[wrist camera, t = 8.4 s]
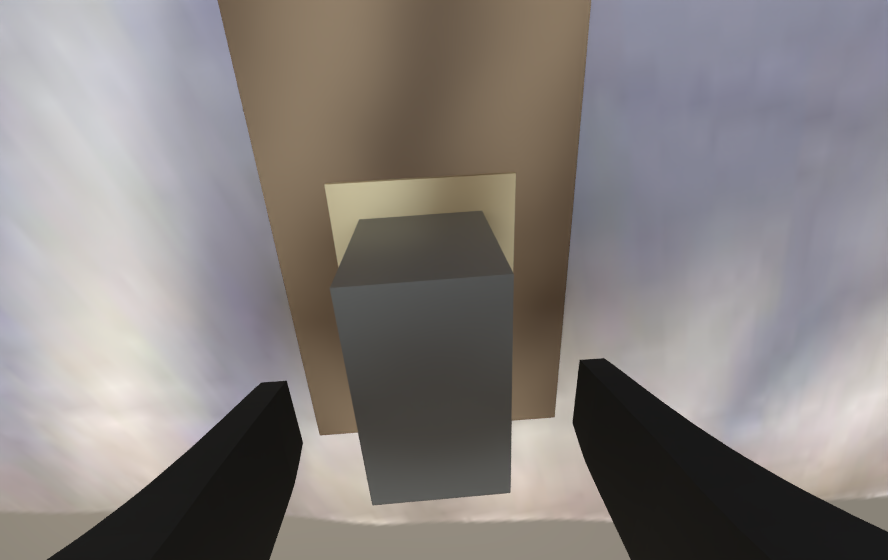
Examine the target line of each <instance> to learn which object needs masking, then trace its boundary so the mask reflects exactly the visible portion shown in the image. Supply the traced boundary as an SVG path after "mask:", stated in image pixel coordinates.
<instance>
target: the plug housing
mask: <svg viewBox="0 0 888 560" xmlns="http://www.w3.org/2000/svg"><path fill="white" fill-rule="evenodd" d="M330 292H331V297H332V302H333V307H334V312H335V318H336V323H337V328H338V333H339V338H340V343H341V348H342V353H343V358H344V363H345V368H346V374H347V379H348V384H349V389H350V394H351V399H352V404H353V409H354V414H355V419H356V424H357V429H358V435H359V440H360V445H361V450H362V455H363V460H364V465H365V470H366V475H367V480H368V485H369V491H370V496H371V501H372V505H382V504H393V503H404V502H415V501H426V500H437V499H448V498H459V497H470V496H481V495H492V494H503V493H510V488H511V424H512V360H513V295H514V273H513V271H512V269H511V267H510V265H509V263H508V261H507V259H506V257H505V255H504V253H503V251H502V249H501V247H500V245H499V243H498V241H497V239H496V237H495V235H494V233H493V231H492V229H491V227H490V225H489V223H488V221H487V219H486V217H485V215H484V213H483V211H469V212H455V213H441V214H427V215H414V216H400V217H386V218H372V219H359V221H358V223H357V226H356V228H355V230H354V233H353V235H352V237H351V240H350V242H349V244H348V247H347V249H346V251H345V254H344V256H343V258H342V261H341V263H340V265H339V268H338V270H337V272H336V275H335V277H334V279H333V282H332V284H331V286H330Z"/></svg>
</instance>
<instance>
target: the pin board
mask: <svg viewBox="0 0 888 560" xmlns="http://www.w3.org/2000/svg"><path fill="white" fill-rule="evenodd" d="M218 4H219V8H220V13H221V17H222V21H223V25H224V30H225V34H226V38H227V42H228V47H229V51H230V55H231V59H232V64H233V68H234V72H235V76H236V81H237V85H238V89H239V93H240V98H241V102H242V106H243V110H244V115H245V119H246V123H247V127H248V132H249V136H250V140H251V144H252V149H253V153H254V157H255V161H256V166H257V170H258V174H259V178H260V183H261V187H262V191H263V195H264V200H265V204H266V208H267V213H268V217H269V221H270V225H271V230H272V234H273V238H274V242H275V247H276V251H277V255H278V259H279V264H280V268H281V272H282V276H283V281H284V285H285V289H286V293H287V298H288V302H289V306H290V310H291V315H292V319H293V323H294V327H295V332H296V336H297V340H298V344H299V349H300V353H301V357H302V361H303V366H304V370H305V374H306V378H307V383H308V387H309V391H310V395H311V400H312V404H313V408H314V412H315V417H316V421H317V425H318V430H319V434H320V435H331V434H344V433H357V432H358V429H357V424H356V419H355V414H354V409H353V404H352V399H351V394H350V389H349V384H348V379H347V374H346V368H345V363H344V358H343V353H342V348H341V343H340V338H339V333H338V328H337V323H336V318H335V312H334V307H333V302H332V297H331V292H330V286H331V284H332V282H333V279H334V277H335V275H336V272H337V270H338V268H339V265H340V263H341V261H342V258H343V256H344V254H345V251H346V249H347V247H348V244H349V242H350V240H351V237H352V235H353V233H354V230H355V228H356V226H357V223H358V221H359V219H372V218H386V217H400V216H414V215H427V214H441V213H455V212H469V211H483V213H484V215H485V217H486V219H487V221H488V223H489V225H490V227H491V229H492V231H493V233H494V235H495V237H496V239H497V241H498V243H499V245H500V247H501V249H502V251H503V253H504V255H505V257H506V259H507V261H508V263H509V265H510V267H511V269H512V271H513V273H514V295H513V360H512V420H525V419H538V418H551V417H555V405H556V394H557V382H558V371H559V360H560V348H561V337H562V326H563V314H564V303H565V292H566V280H567V269H568V257H569V246H570V235H571V223H572V212H573V201H574V189H575V178H576V167H577V155H578V144H579V132H580V121H581V110H582V98H583V87H584V76H585V64H586V53H587V42H588V30H589V19H590V8H591V0H218Z"/></svg>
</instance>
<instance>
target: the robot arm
mask: <svg viewBox="0 0 888 560" xmlns="http://www.w3.org/2000/svg"><path fill="white" fill-rule="evenodd" d="M573 426H574V429H575V432H576V435H577V438H578V442H579V445H580V448H581V451H582V454H583V457H584V459H585V462H586V464H587V467H588V469H589V471H590V473H591V475H592V478H593V480H594V482H595V484H596V486H597V488H598V491H599V493H600V495H601V497H602V499H603V501H604V503H605V506H606V508H607V510H608V512H609V514H610V516H611V518H612V520H613V523H614V524H615V527H616V529H617V531H618V533H619V535H620V537H621V539H622V542H623V544H624V546H625V548H626V550H627V552H628V554H629V557H630V559H631V560H888V532H887V531H885V530H882V529H880V528H879V527H876V526H874V525H872V524H870V523H868V522H866V521H864V520H862V519H860V518H857V517H855V516H853V515H851V514H849V513H847V512H846V511H844V510H841V509H840V508H837V507H836V506H833V505H832V504H829V503H828V502H826V501H824V500H822V499H820V498H818V497H816V496H814V495H812V494H810V493H808V492H806V491H804V490H802V489H801V488H799V487H797V486H795V485H793V484H791V483H789V482H788V481H786V480H784V479H782V478H780V477H779V476H777V475H775V474H774V473H772V472H770V471H768V470H767V469H765V468H763V467H761V466H760V465H758V464H756V463H754V462H753V461H751V460H749V459H748V458H746V457H744V456H743V455H741V454H739V453H738V452H736V451H734V450H733V449H731V448H730V447H728V446H726V445H725V444H723V443H722V442H720V441H719V440H717V439H716V438H714V437H713V436H711V435H710V434H708V433H707V432H705V431H704V430H702V429H700V428H699V427H697V426H696V425H695V424H693V423H692V422H690V421H689V420H687V419H686V418H684V417H683V416H682V415H680V414H679V413H677V412H676V411H675V410H673V409H672V408H670V407H669V406H668V405H666V404H665V403H663V402H662V401H661V400H659V399H658V398H657V397H655V396H654V395H653V394H651V393H650V392H649V391H647V390H646V389H645V388H643V387H642V386H641V385H639V384H638V383H637V382H635V381H634V380H633V379H631V378H630V377H629V376H627V375H626V374H625V373H623V372H622V371H621V370H619V369H618V368H617V367H615V366H614V365H613V364H611V363H610V362H609V361H607V360H606V359H604V358H602V359H588V360H580V362H579V371H578V379H577V388H576V397H575V406H574V414H573ZM302 445H303V441H302V437H301V434H300V430H299V426H298V422H297V418H296V415H295V411H294V407H293V403H292V399H291V395H290V392H289V388H288V384H287V381H277V382H263V383H260V384H259V385H258V386H257V387H256V388H255V389H254V390H253V391H251V392H250V393H249V394H248V395H247V396H246V397H245V398H244V399H243V400H242V401H241V402H240V403H239V404H238V405H237V406H235V407H234V408H233V409H232V410H231V411H230V412H229V413H228V414H227V415H226V416H225V417H224V418H223V419H222V420H221V421H220V422H219V423H217V424H216V425H215V426H214V427H213V428H212V429H211V430H210V431H209V432H208V433H207V434H206V435H204V436H203V437H202V438H201V439H200V440H199V441H198V442H197V443H196V444H195V445H194V446H193V447H191V448H190V449H189V450H188V451H187V452H186V453H185V454H183V455H182V456H181V457H180V458H179V459H178V460H176V461H175V462H174V463H173V464H172V465H171V466H169V467H168V468H167V469H166V470H165V471H164V472H162V473H161V474H160V475H159V476H158V477H157V478H155V479H154V480H153V481H152V482H151V483H150V484H148V485H147V486H146V487H145V488H144V489H142V490H141V491H140V492H139V493H137V494H136V495H135V496H134V497H132V498H131V499H130V500H128V501H127V502H126V503H125V504H123V505H122V506H121V507H120V508H118V509H117V510H116V511H114V512H113V513H112V514H110V515H109V516H108V517H106V518H105V519H104V520H102V521H101V522H100V523H98V524H97V525H96V526H95V527H93V528H92V529H90V530H89V531H88V532H86V533H85V534H84V535H82V536H81V537H79V538H78V539H76V540H75V541H73V542H72V543H71V544H69V545H68V546H66V547H65V548H63V549H62V550H60V551H59V552H57V553H56V554H54V555H53V556H51V557H50V558H49V559H47V560H269V559H270V556H271V553H272V550H273V547H274V544H275V541H276V538H277V535H278V533H279V530H280V527H281V523H282V521H283V518H284V515H285V512H286V509H287V506H288V503H289V500H290V497H291V494H292V490H293V487H294V484H295V480H296V475H297V470H298V466H299V461H300V456H301V450H302Z"/></svg>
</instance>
